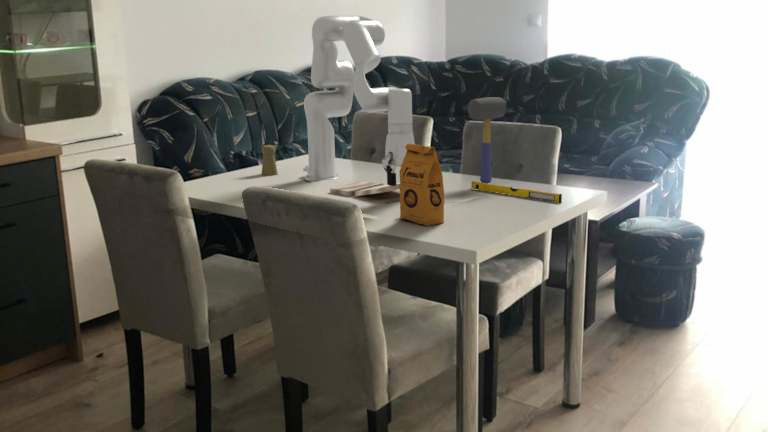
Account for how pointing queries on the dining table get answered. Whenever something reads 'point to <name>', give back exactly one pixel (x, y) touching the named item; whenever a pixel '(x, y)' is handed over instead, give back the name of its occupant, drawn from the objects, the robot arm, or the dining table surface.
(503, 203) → the dining table surface
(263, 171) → the cork
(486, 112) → the rubber mallet
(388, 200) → the floor board
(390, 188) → the ash plank
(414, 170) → the coffee package
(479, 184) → the spirit level
